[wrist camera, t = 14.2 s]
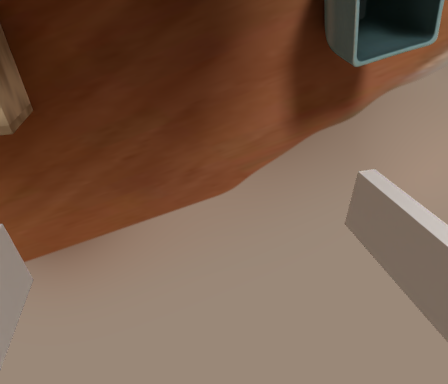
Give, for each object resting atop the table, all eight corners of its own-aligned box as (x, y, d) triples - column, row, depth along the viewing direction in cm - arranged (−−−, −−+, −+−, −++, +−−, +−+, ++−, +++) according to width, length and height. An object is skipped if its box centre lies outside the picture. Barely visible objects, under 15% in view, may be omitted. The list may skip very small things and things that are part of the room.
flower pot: (378, 32, 37) (438, 43, 29) (310, 52, 36) (353, 69, 29) (385, -61, 32) (459, -76, 24) (305, -38, 31) (356, -47, 24)
